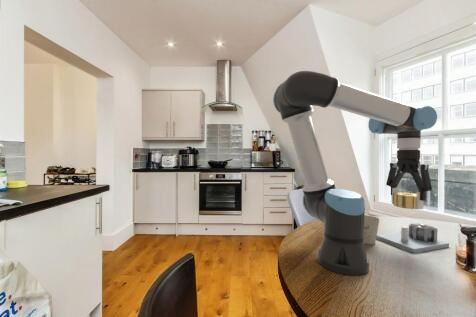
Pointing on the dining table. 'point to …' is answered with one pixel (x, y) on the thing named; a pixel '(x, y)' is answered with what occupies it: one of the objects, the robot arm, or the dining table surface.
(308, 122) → the robot arm
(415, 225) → the gear
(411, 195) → the gear
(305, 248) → the dining table surface
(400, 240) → the gear board
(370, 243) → the mug
